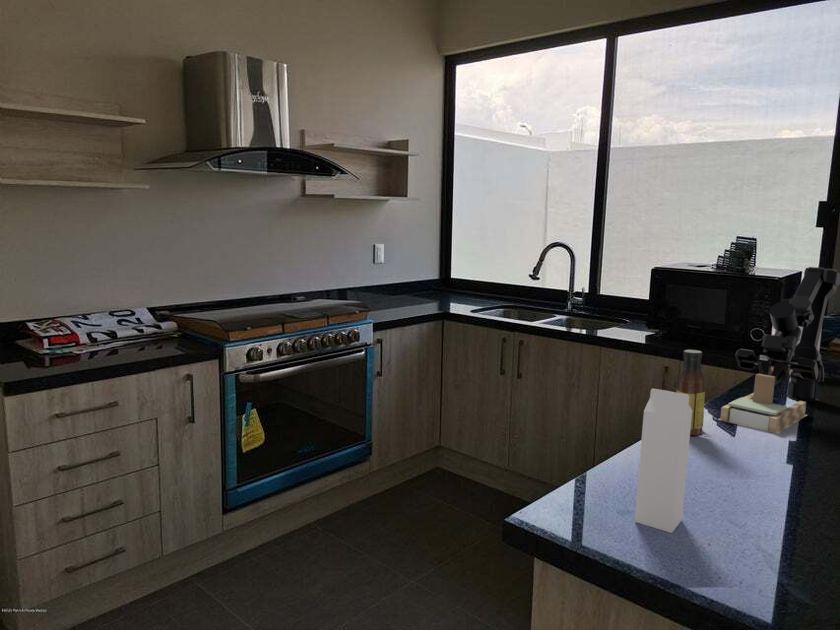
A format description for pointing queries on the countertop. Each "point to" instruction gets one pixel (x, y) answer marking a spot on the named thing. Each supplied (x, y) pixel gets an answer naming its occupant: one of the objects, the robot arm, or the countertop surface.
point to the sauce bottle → (693, 388)
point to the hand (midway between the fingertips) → (765, 389)
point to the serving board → (776, 421)
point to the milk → (663, 460)
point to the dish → (750, 418)
